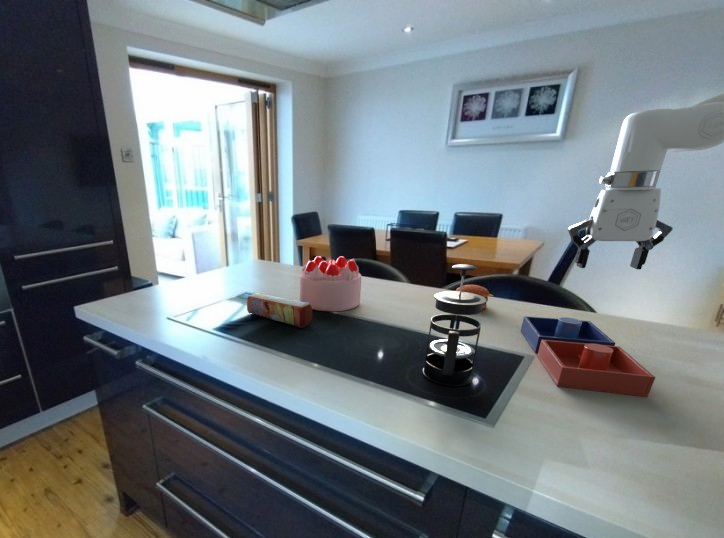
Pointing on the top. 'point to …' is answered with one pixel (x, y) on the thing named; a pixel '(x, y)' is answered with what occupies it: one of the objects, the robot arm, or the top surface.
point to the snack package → (280, 309)
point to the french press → (453, 336)
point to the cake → (330, 284)
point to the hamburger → (476, 292)
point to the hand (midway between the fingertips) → (607, 267)
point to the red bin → (618, 378)
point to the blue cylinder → (568, 328)
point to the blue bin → (544, 330)
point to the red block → (595, 357)
